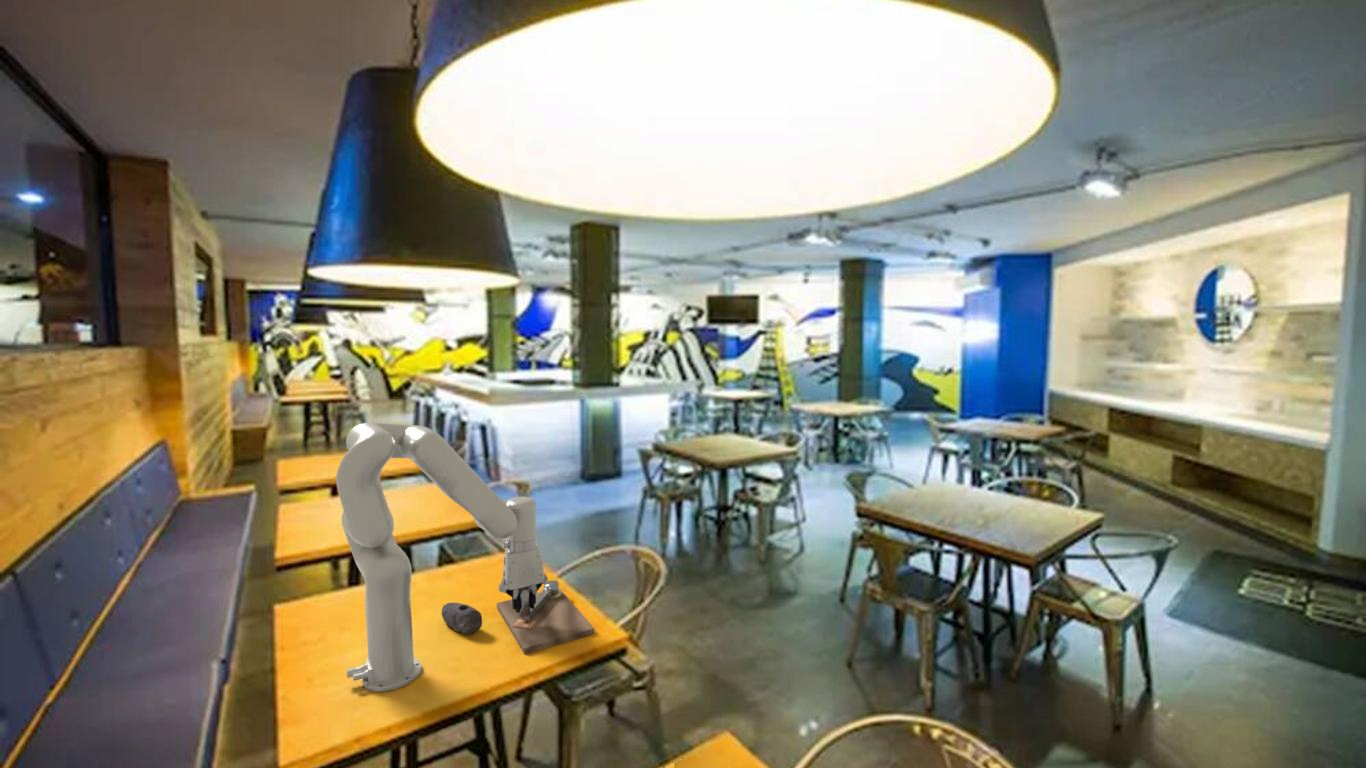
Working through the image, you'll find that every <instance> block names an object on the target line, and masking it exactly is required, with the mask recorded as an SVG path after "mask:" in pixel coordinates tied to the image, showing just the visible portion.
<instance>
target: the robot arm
mask: <svg viewBox="0 0 1366 768" xmlns="http://www.w3.org/2000/svg"><path fill="white" fill-rule="evenodd" d="M345 445H346V448H347V450H348V451H347V452H346V453H345V455H344V456H343V458H342V459H341V461H340V463H339V466H338V468H337V472H336V477H335V482H336V488H337V492H338V495H339V499H340V502H341V506H342V510H343V511H342V515H341V525H342V528H343V531H344V534H345V537H346V540H347V543H348V546H349V547H350V548H349V549H350V551H351V553H352V556H353V560H354V562H355V564H356V566H357V568H358V570H359V572H360V573H361V575H362V577H363V579H364V584H365V586H364V587H365V593H364V594H365V596H364V597H365V599H364V603H365V604H364V605H365V622H366V623H365V625H366V637H367V638H366V639H367V640H366V641H367V653H368V655H367V658H366V662H365V663H362V664H361V665H360V666H356V667H355V666H354V667H351V668H346V675H347V676H346V678H347V679H349V678H352V679H353V680H352V681H353V682H355V681H359V680H361V682H362V686H363V688H365V689H366V690H368V691H371V692H376V693H377V692H389V691H394V690H397V689H401V688H403V687H404V686H407V685H408V684H410V683H411V682H413V681H414V680H415V679H417V678H418V677H419V676H420V674H421V672H422V663H421V661H420V660H418V659H417V658H416V657H414V639H413V622H412V620H413V619H412V618H413V617H412V603H411V601H412V600H411V587H412V573H413V572H412V570H413V569H412V565H411V562H410V559H409V557H408V556H407V554H406V552H405V551H404V550H403V549H402V548H401V547H400V546H399V544H398V543H397V542H396V539H395V537H394V534H393V533H394V529H395V521H394V517H393V515H392V512H391V510H390V508H389V505H388V502H387V499H386V496H385V493H384V490H383V486H382V482H381V474H382V473H381V472H382V470H383V469H384V467H385V465H386V464H387V463H388V462H389V461H390V460H391V459H409V460H411V462H413V463H414V465H415V466H417V468H418V469H419V470H420V471H422V472H423V474H425V475H426V476H427V478H429V480H431V481H432V482H433V483H434V484H435V485H436V487H438V489H439V490H440V491H441V492H442V493H443V494H445V496H446V497H448V498H449V499H450V500H451V501H453V503H455V504H457V505H458V506H460V507H461V508H463V509H464V510H465V511H466V512H467V513H468V514H469V515H471V516H472V517H473V520H474V522H475V524H476V525H477V526H478V527H479V528H480V529H481V530H483V531H484V532H486V533H487V534H489V535H490V536H491V537H493V538H495V539H497V540H504V539H506V541H505V542H501V546H502V549H505V551H504V557H503V566H502V567H503V569H502V579H501V581H500V583H499V585H498V587H497V590H498V591H499V592H500V593H503V594H507V595H508V596H510V597H511V599H512V607H513V609H515V610H516V612H517V613H519V612H520V599H519V597H518V589H520V588H524V587H528V586H530V607H531V609H534V604H536V594H537V593H538V591H539V589H540V588H541V587H542V586H543V585H544V583H545V582H547V581H549V578H548V576H547V574H545V571H544V561H543V555H542V551H541V550H542V549H541V547H540V545H538V543H537V539H538V538H537V511H536V501H535V499H534V498H532V497H530V496H516V497H513V498H510V499H502V498H501V497H500V496H499V495H498V494H497V493H496V492H495V491H494V490H493V489H492V488H491V487H490V486H489V485H488V484H487V483H486V482H485V481H484V480H483V479H482V477H480V475H479V474H478V473H477V472H475V470H473V469H472V467H470V465H469V464H468V463H467V462H466V461H465V460H464V459H463V458H462V457H461V456H460V455H459V454H458V453H457V451H455V449H454V448H453V447H452V446H451V445H450V444H449V443H448V442H447V441H446V440H445V439H444V437H442V435H441V434H439V433H438V432H436V431H435V430H433V429H431V428H428V427H426V426H422V425H415V424H414V425H413V424H396V423H382V422H363V423H360V424H357V425H355V426H353V427H352V428H351V429H350V431H348V432H347V436H346V439H345Z"/></svg>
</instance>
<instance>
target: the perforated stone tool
mask: <svg viewBox="0 0 1366 768" xmlns="http://www.w3.org/2000/svg"><path fill="white" fill-rule="evenodd" d="M441 618H442V620H443V621H444V623H445V624H446V625H447V626H449V627H450V628H452V630H453V629H454V630H455V631H457V632H459V633H464V634H466V635H470V634H471V633H475V632H478V631H479V630H480V629H481V627H482V626H483V618H482V613H481V611H479V610H478V609H476V608H474V607H473V606H471V605H469V604H464V603H460V602H446V603H445V604H444V605H443V606H442V608H441Z"/></svg>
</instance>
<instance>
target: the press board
mask: <svg viewBox="0 0 1366 768" xmlns="http://www.w3.org/2000/svg"><path fill="white" fill-rule="evenodd" d="M541 592H542V591H540V592H537V594H536V597H537V596H538V595H539V594H540V593H541ZM496 609H497V611H498V613H499V614H500V615H501V618H502V620H503V621H504V622H505V624H506V626H507V627H508V629H509V631H510V633H511V635H512V636H513V638H514V639H515V641H516V642H517V645H518V646H519V648H520V650H521V651H522V652H523V654H524V655H528V654H530V653H533V652H538V651H539V650H540V651H541V650H543V649H547V648H551V647H555V646H557V645H561V644H565V643H568V642H571V641H575V640H577V639H581V638H586V637H589V636H593V635H594V634H595V628H594V626H593V625H592V624H591V623H590V621H589V620H587V618H586V617H585V616H584V615H583V614H582V612H581V611H580V610H579V609H578V608H577V607H576V606H575V604H574V603H573V602H572V601H571V600H570V599H569V597H568V596H567V595H566V594H565V593H564V591H563V590H562V589H561V588H560V587H559V592H558V593H557V594H556V595H552V596H551V597H550V598H549V599H548V600H547V601H546V602H545V604H544V605H543V606H542V607H541V608H540V609H539V610H538V612H537V613H536V614H535V615H534V616H533V617H532V618H531V620H530V621H526V620H522V617H519V616H518V613H517V612H516V610H515V609H513V607H512V598H511V599H507V600H504V601H503V600H502V601H500V602H497V603H496Z"/></svg>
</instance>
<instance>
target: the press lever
mask: <svg viewBox="0 0 1366 768" xmlns="http://www.w3.org/2000/svg"><path fill="white" fill-rule="evenodd" d="M559 585H560V584H559V582H558V581H557V580H548V581H546V582H545V583H544V584H543V589H542V590H541V591H540V592H541V593H540V592H539V593H540V594H539V595H538V596H537V597H536V604H534V609H531V607H530V586H528V587H524V588H520V589H518V597H519V599H520V612H519V613H518V616H519V617H522V620H526V621H530V620H531V618H532V617H533V616H534V615H535V614H536V613H537V612H538V610H539V609H540V608H541V607H542V606H543V605H544V604H545V602H546V601H547V600H548V599H549V598H550V597H551V596H552V595H556V594H557V593H558V592H559V588H560V587H559Z"/></svg>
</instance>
